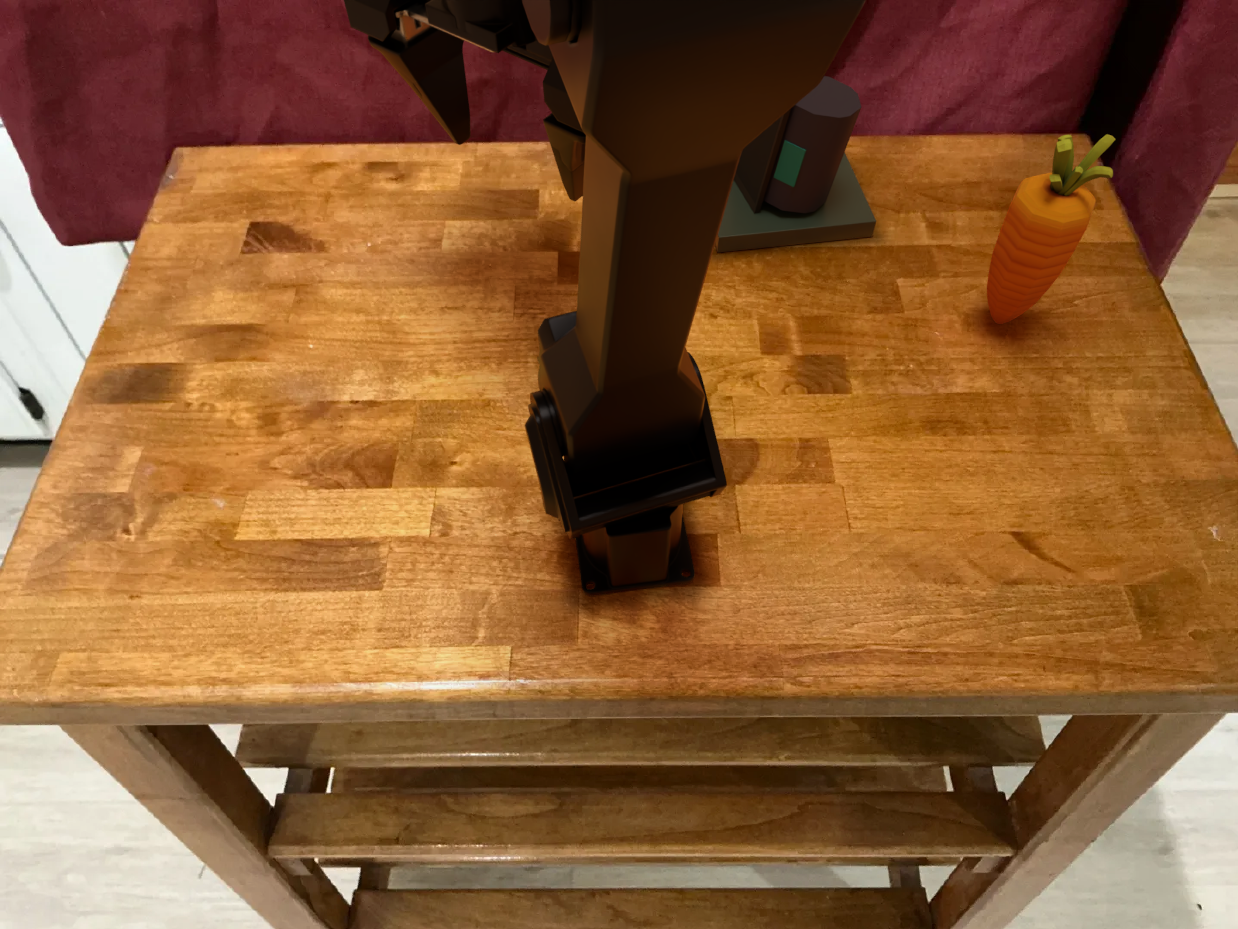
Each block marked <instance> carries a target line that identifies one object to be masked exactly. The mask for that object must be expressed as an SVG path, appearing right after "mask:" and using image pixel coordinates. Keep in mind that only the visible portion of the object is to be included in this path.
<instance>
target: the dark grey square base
mask: <svg viewBox="0 0 1238 929" xmlns="http://www.w3.org/2000/svg"><path fill="white" fill-rule="evenodd" d="M876 224H877V219H876V217H875V214H874V213H873V211H872V208H871V206H870V204H869V201H868V200H867V198H866V195H865V193H864V190H863V189H862V187H861V184H860V182H859V180H858V178H857V176H856V173H855V172H854V169H853V167H852V165H851V163H850V161H849V159H848V156H847V154H846V151H845V152H844V155H843V157H842V160H841V163H840V165H839V168H838V171H837V173H836V176H835V179H834V181H833V184H832V187H831V189H830V192H829V195H828V197H827V200H826V202H825V203H824V204H823V205H822V206H820V207H819V208H818V209H817V210H816V211H814V212H809V213H798V212H790V211H782V210H780V209H778V208H776V207H775V206H773V205H771V204H769V203H767V202H765V201H764V200H763V202H762V205H761V209H760V212H759V213H754V212H753V210H752V208H751V207H750V205H749V203H748V202H747V200H746V198H745V197H744V195H743V194H742V192H741V190H740V189H739V187H738V185H737V184H736V182H735V180H733V184H732V187H731V191H730V194H729V198H728V201H727V205H726V208H725V211H724V215H723V218H722V222H721V225H720V229H719V232H718V236H717V239H716V243H715V246H714V247H715V250H716V252H717V253H727V252H736V251H746V250H754V249H767V248H775V247H785V246H795V245H803V244H805V245H806V244H812V243H813V244H815V243H823V242H834V241H844V240H851V239H852V240H854V239H862V238H871V237H873V236H874V232H875V228H876Z"/></svg>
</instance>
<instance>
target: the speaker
mask: <svg viewBox="0 0 1238 929" xmlns="http://www.w3.org/2000/svg"><path fill="white" fill-rule="evenodd" d="M861 110H862V103H861V100H860V97H859V93H858V92H857V91H856V90H854V89H853V87H851V86H849V85H847V84H846V83H844V82H842V81H839V80H837V79H835V78H832V77H831V76H826V75H824V77H823V79H822V81H821V82H820V83H819V85H818V86H817V87H815V88H814V89H813V90H812V91H811V92H810V93H808V94H807V95H806V96H805V97H804V98H803V99H801V100H800V101H799V102H798V103H797V104H795V105H794V106H793V107H792V108H791V109H789V110H788V111H787V112H786V113H785V114H784V115H782V116H781V117H780V118H779V119H778V120H776V121H775V122H774V123H773V124H772V125H771V126H769V127H768V128H767V129H766V130H765V131H763V132H762V133H761V134H760V135H759V136H758V137H756V138H755V139H754V140H753V141H752V142H750V143H749V144H748V145H747V146H746V147H745V148H744V149H743V151H742V153H741V156H740V160H739V163H738V166H737V170H736V173H735V177H734V180H735V182H736V184H737V185H738V187H739V189H740V190H741V192H742V194H743V195H744V197H745V198H746V200H747V202H748V203H749V205H750V207H751V208H752V210H753V212H754V213H759V212H760V209H761V205H762V202H763V200H764V201H765V202H767V203H769V204H771V205H773V206H775V207H776V208H778V209H780V210H782V211H790V212H798V213H809V212H814V211H816V210H817V209H818V208H819V207H820V206H822V205H823V204H824V203H825V202H826V200H827V197H828V195H829V192H830V189H831V187H832V184H833V181H834V179H835V176H836V173H837V171H838V168H839V165H840V163H841V160H842V157H843V155H844V152H845V153H846V150H847V147H848V144H849V143H850V142H849V141H850V139H851V137H852V133H853V132H854V128H855V126H856V123H857V121H858V118H859V114H860V112H861Z"/></svg>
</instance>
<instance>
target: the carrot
mask: <svg viewBox="0 0 1238 929" xmlns="http://www.w3.org/2000/svg"><path fill="white" fill-rule="evenodd" d="M1115 141H1116V138H1115V137H1114V136H1113V135H1110V134H1105V135H1104V136H1103V137H1102V138H1100V139H1099V140H1098V141H1097V142H1096V143H1095V144H1094V145H1093V146H1092V147H1091V148H1090V150H1089V151H1088V152H1087V153H1086V155H1085V156H1084V158H1082V160H1081V161H1080V162H1079V164H1078V165H1077V166H1075V167H1074V162H1075V150H1074V148H1075V146H1074V141H1073V136H1072V135H1071V134H1064V135H1061V136H1060V137H1058V138H1057V141H1056V143H1055V147H1054V150H1053V158H1052V169H1051V172H1046V173H1042V174H1037V175H1033V176H1029V177H1026V178H1023V179H1022V180H1021V182H1020V183H1019V185H1018V187H1017V188H1016V191H1015V193H1014V196H1013V197H1012V200H1011V202H1010V204H1009V207H1008V209H1007V212H1006V215H1005V217H1004V219H1003V221H1002V225H1001V228H1000V230H999V234H998V236H997V238H996V242H995V245H994V248H993V250H992V253H991V257H990V263H989V268H988V275H987V282H986V298H987V305H988V310H989V313H990V317H991V319H992V320H993V321H994V323H995V324H997V325H1003V324H1007V323H1009V322H1011V321H1014V319H1017V318H1018V317H1020V316H1022V315H1024V314H1025V313H1026V312H1028V310H1030V309H1031V308H1032V307H1033V306H1034V305H1037V303H1038V302H1039V300H1041V299H1042V297H1043V296H1044V295H1045V294H1046V293H1047V291H1048V290H1049V289H1050V288H1051V287H1052V286H1053V284H1054V283H1055V282H1056V281H1057V279H1058V278H1059V277H1060V275H1061V274H1062V272H1063V270H1064V269H1065V267H1066V266H1067V264H1068V262H1069V260H1070V259H1071V257H1073V256H1072V255H1073V254H1074V252H1075V250H1076V249H1077V247H1078V245H1079V243H1080V242H1081V240H1082V238H1083V236H1084V235H1085V232H1086V231H1087V229H1088V226H1089V223H1090V221H1091V218H1092V215H1093V212H1094V209H1095V208H1096V202H1097V198H1095V196H1094V195H1093V193H1091V191H1090V190H1089V189H1088V188H1087V186H1085V184H1086V183H1088V182H1091V181H1093V180H1096V179H1100V178H1106V179H1112V178H1113V177H1114V169H1113V168H1111V167H1110V166H1105V165H1095V166H1093V167H1092V165H1093V164H1094V163H1095V162H1096V161H1097V160H1098V159H1099V158H1100V157H1101V155H1103V153H1105V152H1106V151H1107V150H1108V149H1109V148H1110V147H1111V146H1112V145H1113V143H1114V142H1115ZM1090 167H1091V168H1090Z"/></svg>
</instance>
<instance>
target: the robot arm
mask: <svg viewBox="0 0 1238 929" xmlns="http://www.w3.org/2000/svg"><path fill="white" fill-rule="evenodd" d="M866 1H867V0H343V3H344V7H345V10H346V15H347V19H348V22H349V26H350V28H352V29H355V30H356V31H359V32H360V33H363V34H365V35H367V40H368V43H369V45H370V47H372V48H373V49H374V50H377V51H378V52H379V53H380V54H381V56H383V57H384V59H385V60H386V61H387V62H388V64H390V65H391V67H392V68H393V69H394V70H395V71H396V72H397V73H398V75H399V76H400V77H401V78H402V79H403V81H404V82H405V83H406V84H407V85H408V87H410V89H411V90H412V91H413V92H414V93H415V95H416V96H417V97H418V98H419V99H420V101H421V102H422V104H423V105H424V106H425V107H426V108H427V110H428V111H429V112H430V113H431V115H432V116H433V117H434V118H435V120H436V121H437V122H438V124H439V125H440V126H441V127H442V129H443V130H444V132H446V134H447V135H448V137H449V138H450V139H451V140H452V142H453V143H454V144H456V145H459V146H461V145H463V144H464V143H466V142H467V141H468V140H470V137H471V134H472V133H471V131H472V130H471V110H470V109H471V108H470V101H469V94H468V84H467V76H466V68H465V60H464V50H463V48H464V42H467V43H470V44H472V45H474V46H476V47H479V48H481V49H483V50H485V51H488V52H490V53H496V54H499V53H502V52H504V53H507V54H508V55H511V56H513V57H516V58H519V59H520V60H523V61H526V62H528V63H530V64H532V65H534V66H537V67H539V68H542V69H543V70H546V73H545V75H544V78H543V80H542V93H543V101H544V104H545V105H546V107H547V108H548V110H549V111H550V112H551V113H550V114H548V115H547V116H546V117H544V118H543V119H542V122H543V125H544V129H545V133H546V136H547V138H548V142H549V145H550V148H551V151H552V155H553V157H554V161H555V163H556V167H557V170H558V173H559V176H560V179H561V184H562V185H563V188H564V190H565V193H566V194H567V197H568V198H569V200H570V201H572V202H577V201H578V200H580V199H581V198H582V200H581V201H582V202H581V220H580V221H581V222H580V241H579V260H578V279H577V281H578V282H577V294H576V310H573V311H570V312H565V313H562V314H558V315H553V316H549V317H546V318H544V319H543V320H542V322H541V323H540V326H538V329H537V343H538V355H537V357H536V359H537V364H538V371H537V382H538V388H539V389H538V390H535V391H532V392H530V393H529V401H530V403H528V404H527V409H528V413H529V416H528V419H527V420H526V421H525V423H524V429H525V433H526V437H527V441H528V445H529V449H530V452H531V457H532V461H533V464H534V468H535V473H536V476H537V480H538V484H539V490H540V495H541V503H542V506H543V508H544V511H545V514H546V515H549V516H551V517H553V518H554V519H557V521H558V522H560V525H561V526H562V529H563V531H564V533H567V535H568V536H567V537H568V539H569V541H570V540H575V545H576V554H577V555H576V556H577V562H578V569H579V577H580V578H579V579H580V586H581V592H582V593H583V594H584V595H585V596H587V597H596V596H604V595H610V594H611V595H613V594H620V593H621V594H622V593H628V592H636V591H643V590H650V589H657V588H667V587H673V586H682V585H689V584H691V583H693V582H694V580H695V576H696V575H695V574H696V571H695V567H694V562H693V557H692V553H691V548H690V547H691V546H690V543H689V537H688V533H687V527H686V524H685V518H684V514H683V510H684V505H685V504H687V503H691V502H694V501H698V500H701V499H704V498H707V497H710V498H713V497H716V496H720V495H721V494H722V493H723V492H724V490H725V489H726V488H727V486H728V484H727V482H728V481H727V477H726V473H725V469H724V465H723V461H722V455H721V450H720V447H719V444H718V439H717V435H716V434H717V433H716V430H715V426H714V421H713V418H712V412H711V409H710V404H709V400H708V396H707V392H706V388H705V383H704V379H703V377H702V373H701V370H700V367H699V366H698V364H697V361H696V360H695V358H694V357H693V355H692V354H691V353H690V352H689V351H688V350H687V343H688V339H689V337H690V332H691V329H692V325H693V323H694V319H695V315H696V311H697V309H698V305H699V302H700V298H701V294H702V292H703V287H704V284H705V280H706V277H707V275H708V271H709V266H710V263H711V260H712V257H713V252H714V250H715V247H716V246H715V243H716V239H717V236H718V232H719V229H720V225H721V222H722V218H723V215H724V211H725V208H726V205H727V201H728V198H729V194H730V191H731V187H732V184H733V180H734V177H735V173H736V170H737V166H738V163H739V160H740V156H741V153H742V151H743V149H744V148H745V147H746V146H747V145H748V144H749V143H750V142H752V141H753V140H754V139H755V138H756V137H758V136H759V135H760V134H761V133H762V132H763V131H765V130H766V129H767V128H768V127H769V126H771V125H772V124H773V123H774V122H775V121H776V120H778V119H779V118H780V117H781V116H782V115H784V114H785V113H786V112H787V111H788V110H789V109H791V108H792V107H793V106H794V105H795V104H797V103H798V102H799V101H800V100H801V99H803V98H804V97H805V96H806V95H807V94H808V93H810V92H811V91H812V90H813V89H814V88H815V87H817V86H818V85H819V83H820V82H821V81H822V79H823V77H824V76H826V73H827V72H828V70H829V68H830V66H831V65H832V63H833V61H834V59H835V57H836V56H837V54H838V52H839V50H840V49H841V47H842V44H843V43H844V41H845V39H846V37H847V36H848V34H849V32H850V30H851V29H852V27H853V25H854V24H855V22H856V20H857V18H858V16H859V15H860V13H861V11H862V9H863V7H864V5H865V4H866ZM684 573H687V574H688V576H685V575H683V574H684ZM590 585H592V586H593V588H588V586H590Z"/></svg>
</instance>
